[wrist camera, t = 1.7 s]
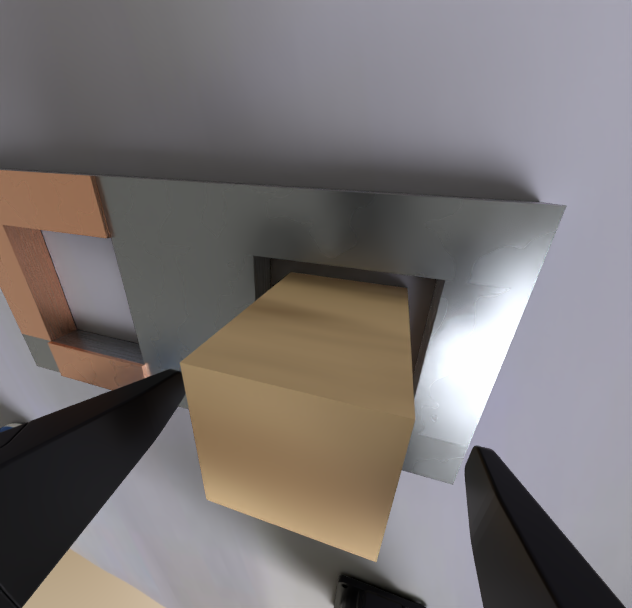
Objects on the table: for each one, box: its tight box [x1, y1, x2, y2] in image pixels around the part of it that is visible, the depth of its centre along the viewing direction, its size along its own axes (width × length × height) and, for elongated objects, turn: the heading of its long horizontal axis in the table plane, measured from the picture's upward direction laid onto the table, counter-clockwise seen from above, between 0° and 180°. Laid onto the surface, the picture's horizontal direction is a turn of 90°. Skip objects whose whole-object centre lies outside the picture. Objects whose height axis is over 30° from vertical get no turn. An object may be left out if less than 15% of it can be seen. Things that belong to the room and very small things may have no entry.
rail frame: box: [0, 169, 566, 485], centre depth 13 cm, size 12×26×2 cm, turn 87°
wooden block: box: [180, 272, 415, 562], centre depth 10 cm, size 5×5×7 cm
